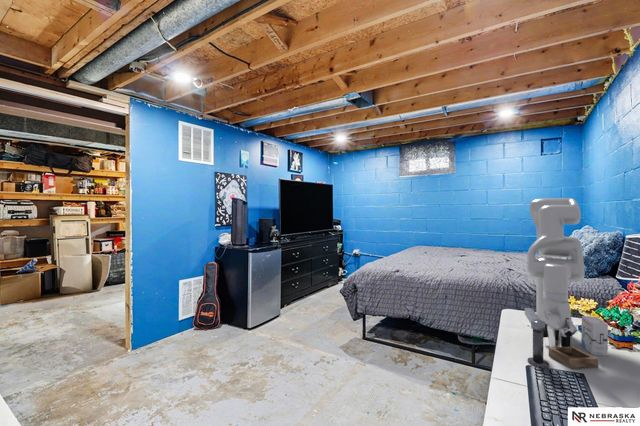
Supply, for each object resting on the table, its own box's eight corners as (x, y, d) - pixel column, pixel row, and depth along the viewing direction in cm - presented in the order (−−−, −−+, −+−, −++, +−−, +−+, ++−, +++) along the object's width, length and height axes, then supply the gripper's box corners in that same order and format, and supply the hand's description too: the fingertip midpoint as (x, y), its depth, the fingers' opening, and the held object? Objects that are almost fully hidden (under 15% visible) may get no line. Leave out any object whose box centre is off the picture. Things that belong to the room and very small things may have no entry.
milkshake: (567, 351, 114) (566, 324, 114) (550, 350, 115) (550, 323, 115) (560, 346, 118) (559, 320, 118) (544, 345, 119) (544, 319, 119)
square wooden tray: (572, 354, 111) (572, 346, 111) (598, 367, 102) (598, 358, 102) (548, 355, 111) (548, 347, 111) (572, 369, 101) (572, 360, 101)
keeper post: (539, 358, 108) (539, 325, 108) (553, 367, 102) (553, 332, 102) (523, 359, 108) (523, 326, 108) (536, 368, 102) (536, 333, 102)
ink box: (580, 344, 120) (580, 314, 120) (596, 346, 118) (596, 316, 118) (591, 354, 112) (591, 322, 112) (608, 356, 110) (608, 324, 110)
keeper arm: (546, 331, 102) (546, 324, 102) (532, 329, 104) (532, 322, 104) (534, 315, 119) (534, 308, 119) (522, 313, 120) (522, 307, 120)
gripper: (528, 290, 125) (528, 333, 125) (567, 303, 107) (567, 352, 107) (545, 290, 125) (545, 332, 126) (586, 302, 108) (586, 351, 108)
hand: (555, 341), depth 117 cm, fingers open, 8 cm apart
